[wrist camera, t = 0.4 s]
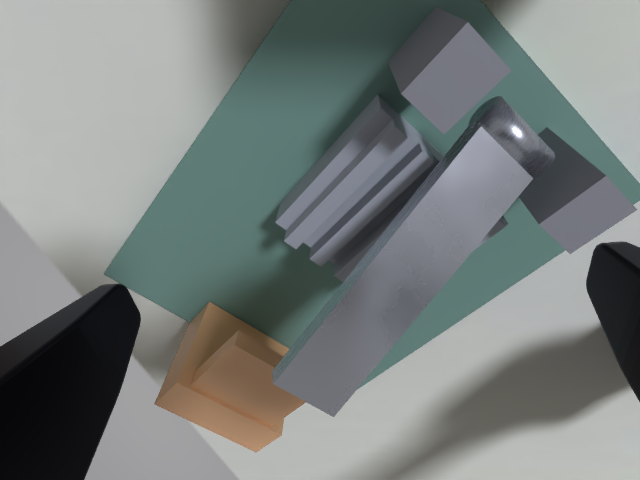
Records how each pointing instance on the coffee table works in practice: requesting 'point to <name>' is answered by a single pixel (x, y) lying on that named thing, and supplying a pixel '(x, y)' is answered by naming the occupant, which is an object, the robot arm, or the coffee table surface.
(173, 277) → the board
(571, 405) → the coffee table surface
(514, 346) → the coffee table surface
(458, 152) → the strap
